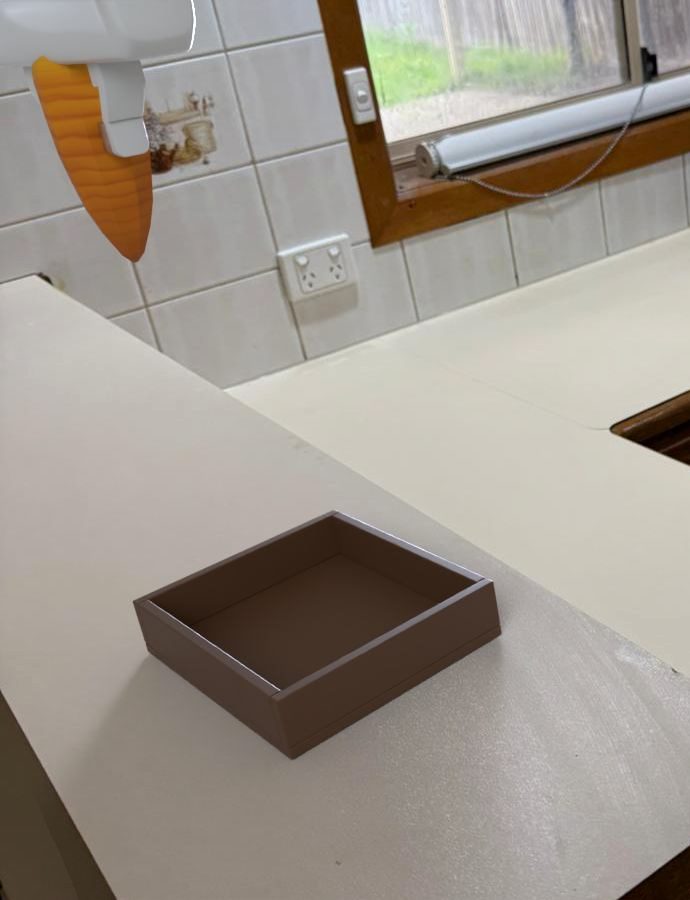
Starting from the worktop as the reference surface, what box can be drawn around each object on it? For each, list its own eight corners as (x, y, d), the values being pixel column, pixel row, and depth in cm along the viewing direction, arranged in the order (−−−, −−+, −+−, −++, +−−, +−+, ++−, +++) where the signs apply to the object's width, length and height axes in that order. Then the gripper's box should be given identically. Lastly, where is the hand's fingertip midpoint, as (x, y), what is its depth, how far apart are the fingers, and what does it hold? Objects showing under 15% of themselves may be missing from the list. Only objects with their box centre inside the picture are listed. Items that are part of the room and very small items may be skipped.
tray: (147, 651, 59) (131, 600, 58) (344, 555, 67) (334, 508, 65) (291, 760, 50) (276, 702, 48) (502, 634, 57) (493, 580, 56)
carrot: (147, 248, 66) (70, -31, 60) (200, 252, 63) (125, -40, 57) (69, 271, 62) (-21, -23, 56) (122, 277, 60) (33, -32, 54)
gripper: (-113, -108, 60) (-26, 158, 65) (36, -170, 46) (130, 173, 52) (9, -114, 64) (82, 137, 69) (179, -173, 50) (253, 146, 56)
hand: (104, 153), depth 60 cm, fingers closed on carrot, 5 cm apart
